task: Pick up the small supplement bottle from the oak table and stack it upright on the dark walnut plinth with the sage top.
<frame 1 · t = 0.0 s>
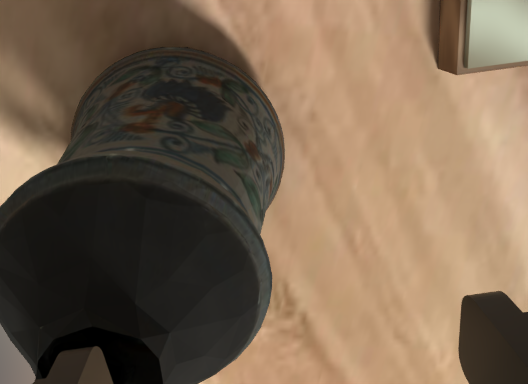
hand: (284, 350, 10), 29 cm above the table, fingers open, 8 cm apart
painted ceramic vase: (184, 160, 39), on the table
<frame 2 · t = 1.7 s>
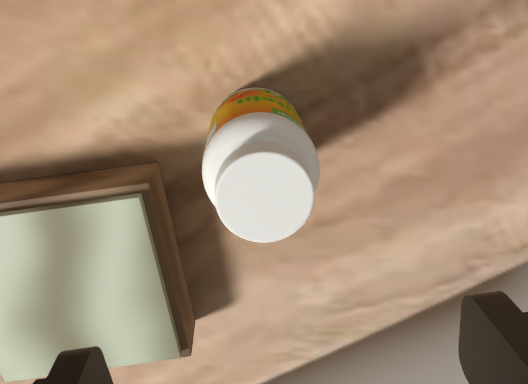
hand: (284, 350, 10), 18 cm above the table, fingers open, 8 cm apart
plinth: (87, 260, 29), on the table
supplement bottle: (255, 131, 27), on the table
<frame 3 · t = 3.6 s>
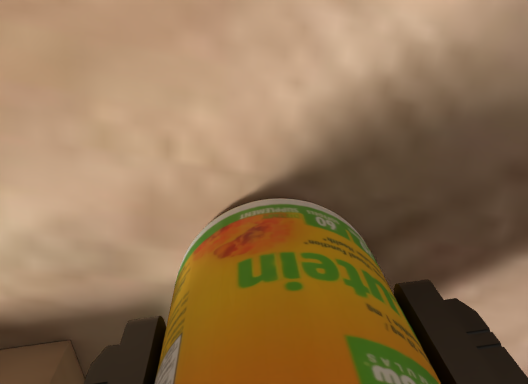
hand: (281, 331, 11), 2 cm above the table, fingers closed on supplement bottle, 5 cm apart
supplement bottle: (275, 277, 13), on the table, touching gripper
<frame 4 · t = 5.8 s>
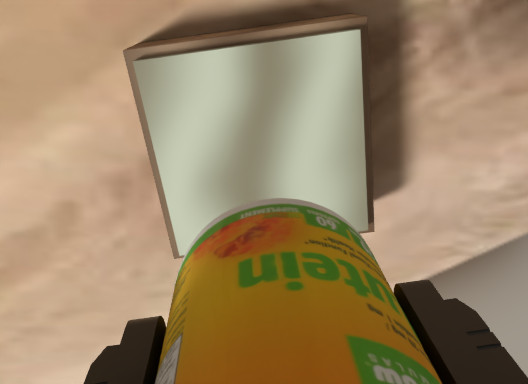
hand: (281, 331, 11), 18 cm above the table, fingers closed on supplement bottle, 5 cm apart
plinth: (258, 132, 27), on the table
supplement bottle: (275, 277, 13), point 16 cm above the table, touching gripper
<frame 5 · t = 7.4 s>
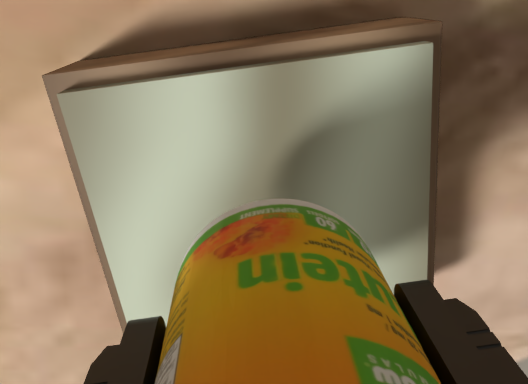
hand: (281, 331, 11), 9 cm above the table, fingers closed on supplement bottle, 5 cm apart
plinth: (261, 188, 19), on the table
supplement bottle: (274, 277, 13), point 7 cm above the table, touching gripper
when the fingers open (7 cm above the table, at t = 8.3 s): supplement bottle stays where it is, resting on plinth.
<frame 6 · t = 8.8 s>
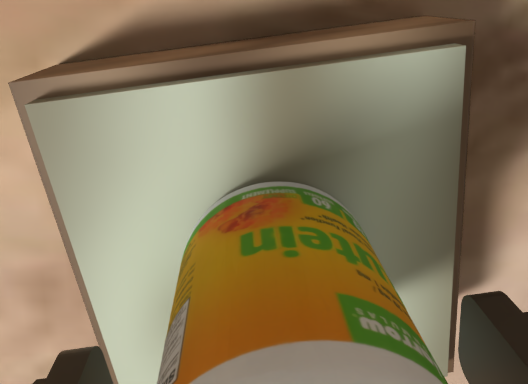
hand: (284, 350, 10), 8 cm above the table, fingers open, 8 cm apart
plinth: (263, 206, 17), on the table
supplement bottle: (274, 257, 13), point 4 cm above the table, touching plinth
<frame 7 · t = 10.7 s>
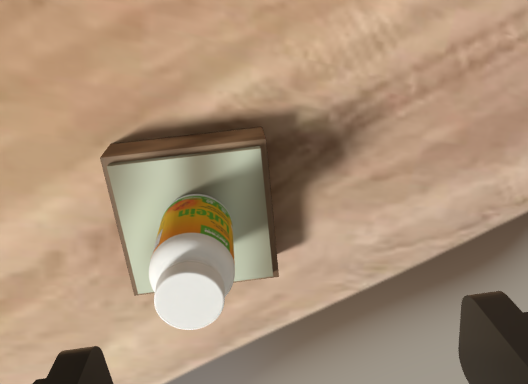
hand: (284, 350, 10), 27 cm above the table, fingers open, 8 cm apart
plinth: (198, 203, 38), on the table
supplement bottle: (197, 223, 35), point 4 cm above the table, touching plinth
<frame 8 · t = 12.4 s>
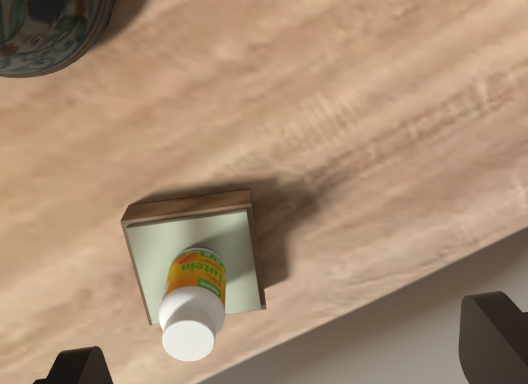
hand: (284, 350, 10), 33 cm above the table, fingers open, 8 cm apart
plinth: (199, 249, 47), on the table
supplement bottle: (198, 269, 43), point 4 cm above the table, touching plinth
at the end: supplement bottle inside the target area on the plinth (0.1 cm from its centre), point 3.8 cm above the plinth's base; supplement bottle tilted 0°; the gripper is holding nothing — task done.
